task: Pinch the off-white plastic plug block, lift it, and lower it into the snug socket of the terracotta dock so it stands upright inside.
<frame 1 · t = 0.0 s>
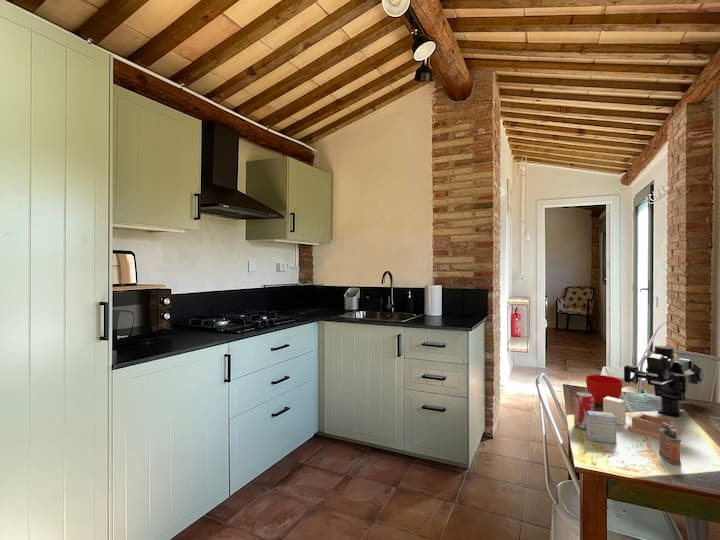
hand: (645, 382, 138), 17 cm above the table, tool horizontal, fingers open, 9 cm apart
lighter: (669, 459, 117), on the table
dock: (652, 431, 136), on the table
beverage can: (584, 427, 140), on the table
medicine box: (601, 440, 130), on the table
red bowl: (601, 401, 167), on the table
plug: (614, 420, 146), on the table
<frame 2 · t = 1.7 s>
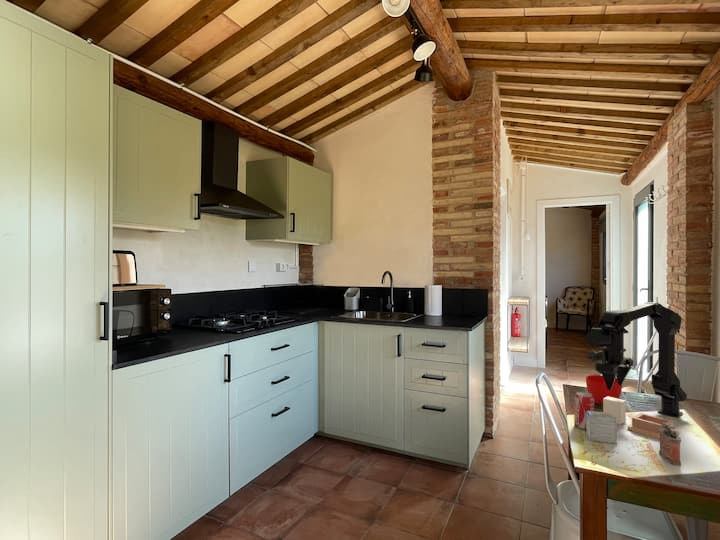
hand: (614, 387, 146), 12 cm above the table, tool pointing down, fingers open, 9 cm apart
nothing on the table moved.
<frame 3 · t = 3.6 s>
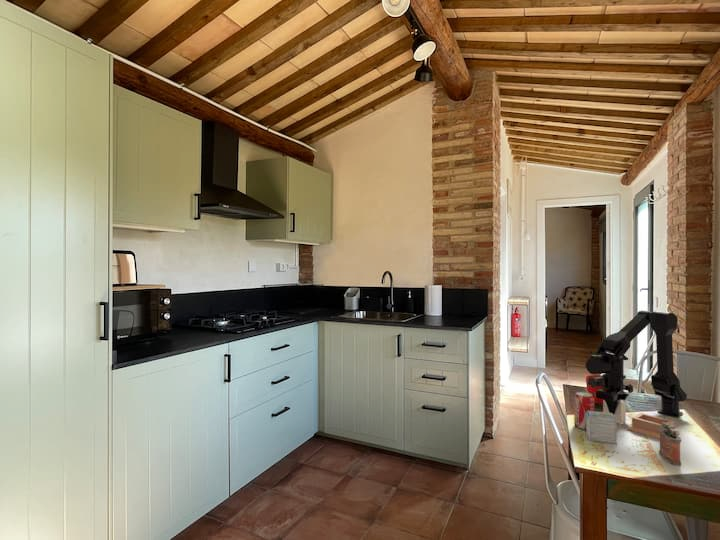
hand: (614, 413, 146), 3 cm above the table, tool pointing down, fingers closed on plug, 4 cm apart
plug: (614, 420, 146), on the table, touching gripper
everything else where it was.
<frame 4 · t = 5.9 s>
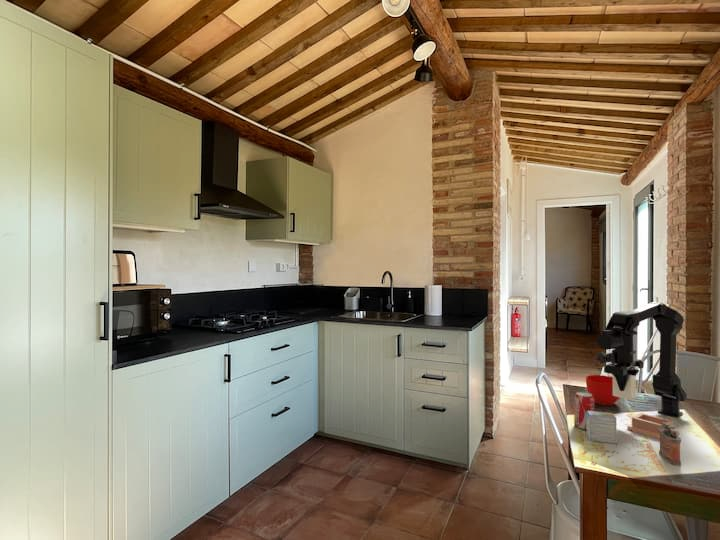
hand: (624, 389, 143), 12 cm above the table, tool pointing down, fingers closed on plug, 4 cm apart
plug: (624, 396, 144), point 10 cm above the table, touching gripper
everything else where it was.
when the fingers open (5 cm above the table, at t = 8.4 s): plug stays where it is, resting on dock.
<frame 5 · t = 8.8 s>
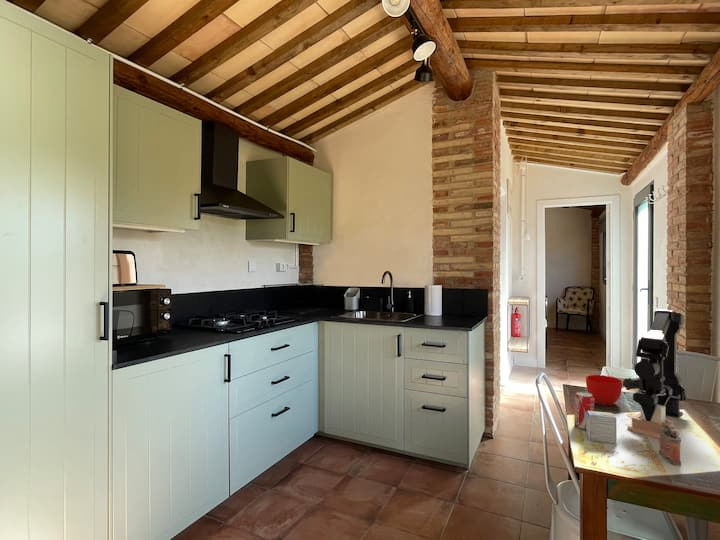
hand: (652, 417, 136), 5 cm above the table, tool pointing down, fingers open, 8 cm apart
plug: (652, 427, 136), point 1 cm above the table, touching dock
everything else where it was.
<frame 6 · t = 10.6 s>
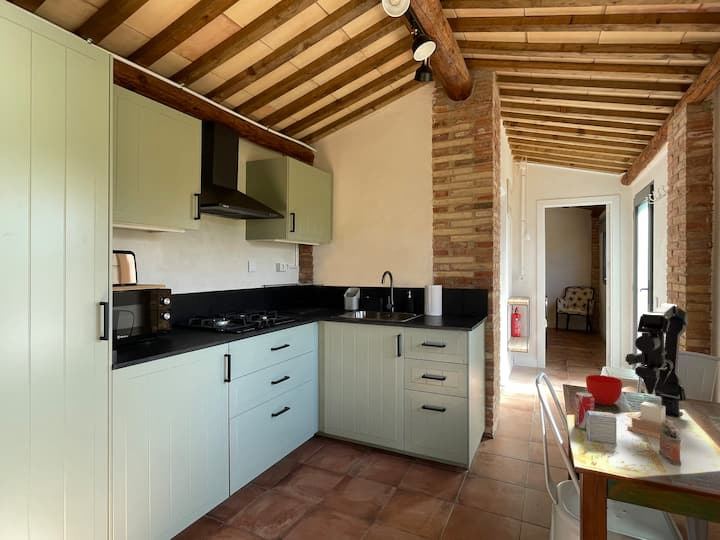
hand: (654, 391, 141), 13 cm above the table, tool pointing down, fingers open, 9 cm apart
nothing on the table moved.
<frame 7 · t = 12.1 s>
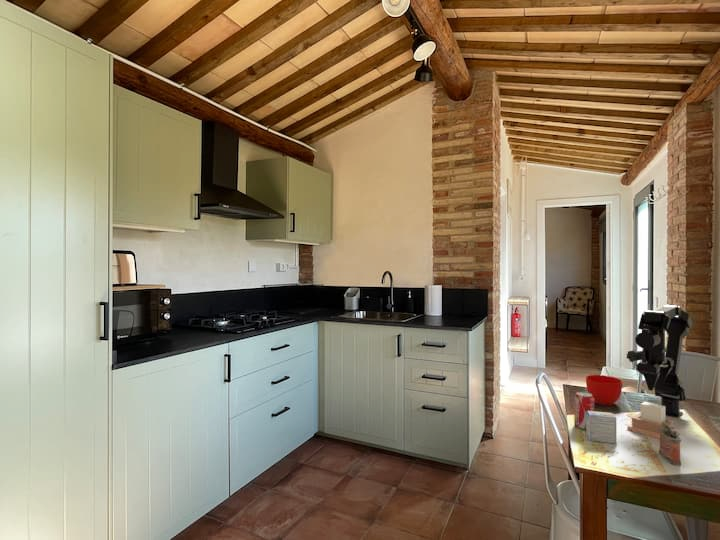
hand: (655, 387, 143), 13 cm above the table, tool pointing down, fingers open, 9 cm apart
nothing on the table moved.
at the end: plug 0.1 cm off-centre on the dock, point 1.2 cm above the dock's base; plug tilted 0°; the gripper is holding nothing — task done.
